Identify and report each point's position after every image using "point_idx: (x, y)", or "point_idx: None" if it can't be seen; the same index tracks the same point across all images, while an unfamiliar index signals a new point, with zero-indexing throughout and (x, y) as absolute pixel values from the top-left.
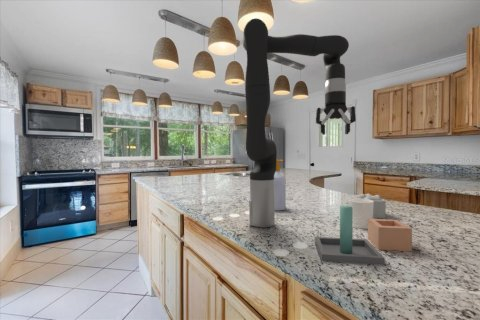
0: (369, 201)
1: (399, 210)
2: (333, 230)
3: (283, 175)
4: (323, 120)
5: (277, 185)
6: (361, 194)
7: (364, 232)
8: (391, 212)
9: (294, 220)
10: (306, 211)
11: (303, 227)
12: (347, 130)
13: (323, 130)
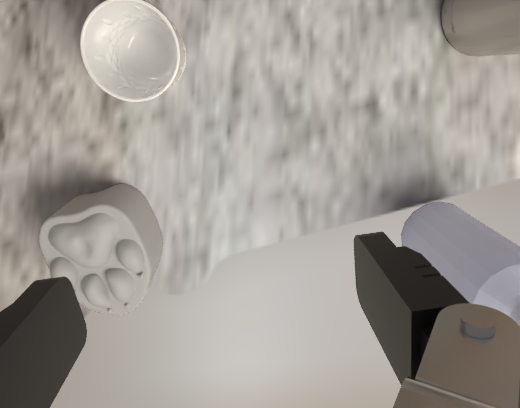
0: (97, 77)
1: None
2: (244, 2)
3: (484, 305)
4: (505, 372)
5: (488, 243)
6: (120, 283)
7: None
8: None
9: (370, 89)
10: (325, 220)
11: (341, 9)
12: (30, 299)
13: (396, 250)
